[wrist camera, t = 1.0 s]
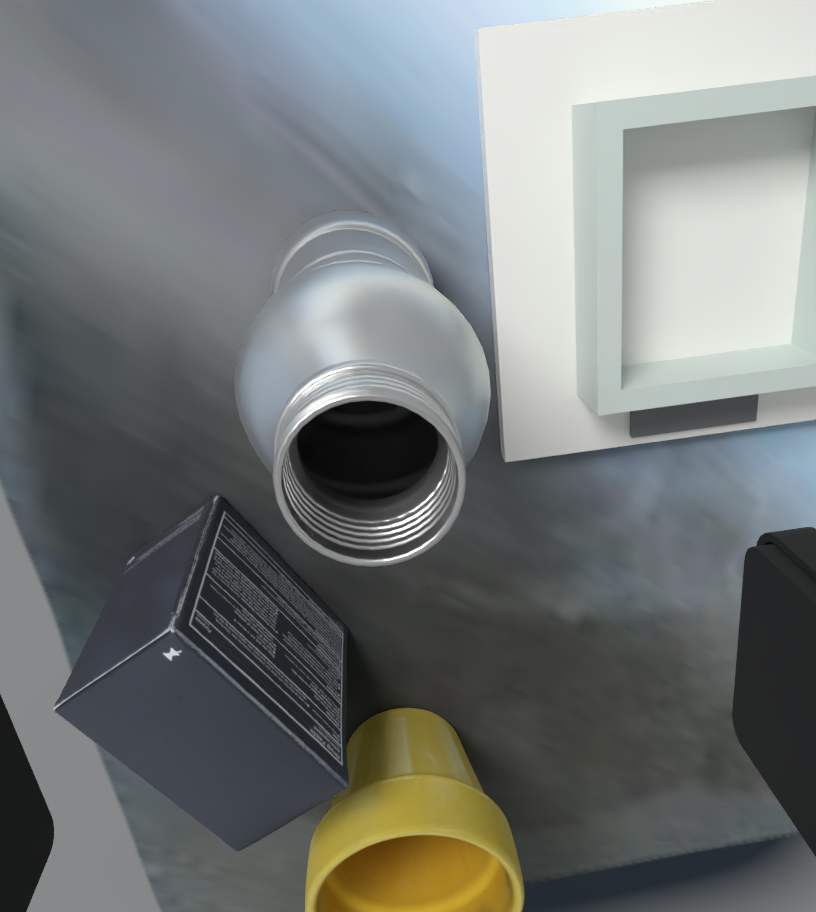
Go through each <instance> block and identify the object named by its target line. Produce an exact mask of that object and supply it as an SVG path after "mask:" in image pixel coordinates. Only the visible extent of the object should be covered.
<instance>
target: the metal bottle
mask: <svg viewBox="0 0 816 912" xmlns="http://www.w3.org/2000/svg"><path fill="white" fill-rule="evenodd" d="M270 296H271V297H270V298H269V300H268V301H267V302H266V303H265V305H264V306H263V307H262V309H261V310H260V311H259V313H258V314H257V315H256V317H255V318H254V319H253V321H252V322H251V323H250V325H249V327H248V329H247V332H246V334H245V336H244V338H243V341H242V343H241V345H240V347H239V352H238V357H237V362H236V367H235V399H236V403H237V408H238V412H239V417H240V420H241V422H242V425H243V427H244V429H245V431H246V434H247V436H248V438H249V440H250V442H251V444H252V446H253V448H254V450H255V452H256V453H257V455H258V456H259V458H260V459H261V460H262V462H263V463H264V465H265V466H266V468H267V469H268V470H269V471H270V472H271V473H272V474H273V484H274V489H275V493H276V498H277V503H278V505H279V507H280V510H281V512H282V514H283V516H284V518H285V520H286V521H287V523H288V524H289V525H290V527H291V528H292V530H293V531H294V532H295V533H296V534H297V535H298V536H299V537H300V538H301V539H302V540H303V541H304V542H305V543H306V544H307V545H309V546H310V547H312V548H313V549H315V550H316V551H318V552H319V553H321V554H323V555H325V556H327V557H330V558H332V559H334V560H337V561H339V562H344V563H348V564H352V565H357V566H374V567H375V566H384V565H392V564H396V563H399V562H403V561H406V560H410V559H412V558H414V557H416V556H418V555H420V554H422V553H424V552H425V551H427V550H428V549H430V548H431V547H432V546H434V545H435V544H436V543H438V542H439V541H440V540H441V539H442V537H443V536H444V535H445V534H446V533H447V532H448V531H449V530H450V528H451V527H452V525H453V523H454V522H455V520H456V518H457V517H458V515H459V512H460V509H461V506H462V504H463V501H464V495H465V487H466V470H465V469H466V468H467V466H468V465H469V463H470V461H471V460H472V458H473V456H474V455H475V453H476V451H477V450H478V447H479V444H480V441H481V438H482V435H483V433H484V430H485V426H486V422H487V419H488V412H489V404H490V397H491V391H490V377H489V369H488V365H487V362H486V358H485V355H484V351H483V348H482V346H481V344H480V342H479V340H478V338H477V336H476V334H475V332H474V330H473V328H472V326H471V325H470V324H469V322H468V321H467V320H466V319H465V317H464V316H463V315H462V314H461V312H460V311H459V310H458V309H457V307H456V306H455V305H454V304H453V303H451V302H450V301H449V300H448V299H447V298H446V297H445V296H443V295H442V294H441V293H440V292H439V291H437V290H436V289H435V288H434V285H433V279H432V275H431V272H430V269H429V265H428V263H427V261H426V259H425V258H424V256H423V254H422V252H421V250H420V249H419V247H418V246H417V245H416V244H415V242H414V241H413V240H412V239H411V237H410V236H408V235H407V234H406V233H405V232H404V231H403V230H402V229H400V228H399V227H398V226H397V225H395V224H393V223H391V222H390V221H388V220H386V219H384V218H383V217H380V216H377V215H374V214H371V213H368V212H362V211H354V210H343V211H332V212H329V213H326V214H322V215H319V216H316V217H314V218H313V219H311V220H309V221H307V222H305V223H304V224H302V225H301V226H300V227H299V228H297V229H296V230H295V231H294V232H293V233H292V234H291V235H290V236H289V237H288V239H287V240H286V241H285V243H284V244H283V245H282V247H281V248H280V250H279V253H278V255H277V257H276V259H275V262H274V265H273V269H272V274H271V279H270Z"/></svg>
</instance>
